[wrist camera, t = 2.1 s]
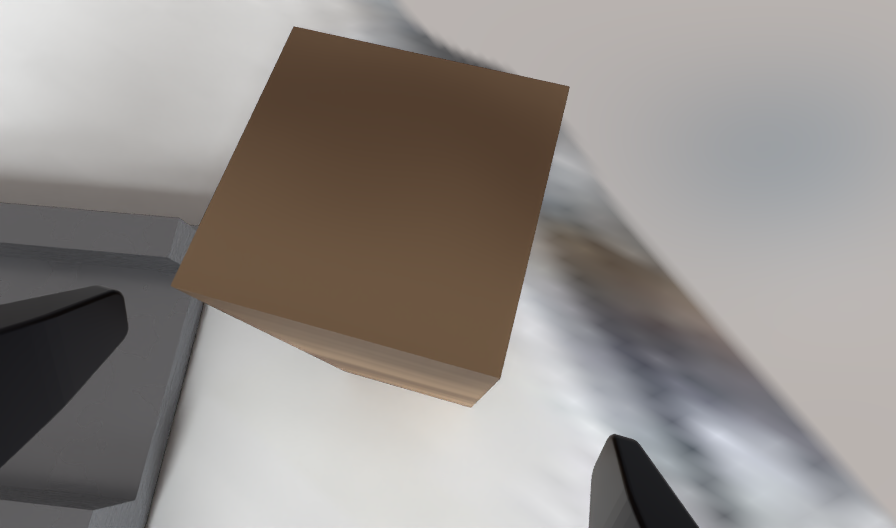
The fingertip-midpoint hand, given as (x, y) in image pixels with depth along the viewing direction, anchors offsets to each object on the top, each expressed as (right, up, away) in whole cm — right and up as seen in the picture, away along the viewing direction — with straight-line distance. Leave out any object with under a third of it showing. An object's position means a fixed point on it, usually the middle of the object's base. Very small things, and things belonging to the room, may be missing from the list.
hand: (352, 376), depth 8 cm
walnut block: (+1, 0, +11) cm, 11 cm away
